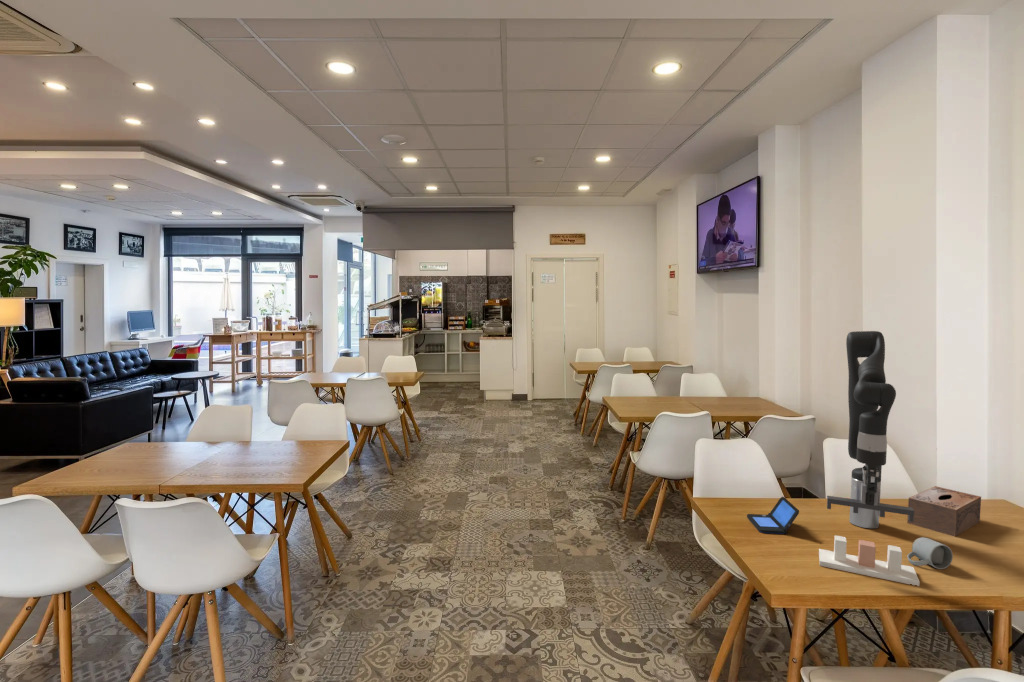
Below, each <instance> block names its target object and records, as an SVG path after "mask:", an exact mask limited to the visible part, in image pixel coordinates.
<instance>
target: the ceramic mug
mask: <svg viewBox="0 0 1024 682" xmlns="http://www.w3.org/2000/svg"><path fill="white" fill-rule="evenodd" d="M913 557H916V558H917V559H919V560H912V558H913ZM953 558H954V554H953V551H952V549H951V548H950V547H949V546H948V545H946V544H944V543H941V542H938V541H936V540H934V539H931V538H928V537H923V536H922V537H917V538H916V539H915V540H914V541H913V542H912V545H911V551H910V552H909V553H908V554H907V560H908V562H909V564H911V565H913V566H920V567H922V566H926V565H930V566H931V567H933V568H935V569H937V570H944V569H947V568H948V567H950V566H951V564H952V562H953Z"/></svg>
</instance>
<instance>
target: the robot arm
mask: <svg viewBox="0 0 1024 682" xmlns="http://www.w3.org/2000/svg"><path fill="white" fill-rule="evenodd" d="M845 341H846V356H847V366H848V367H847V369H848V386H847V387H848V389H847V390H848V394H847V395H848V400H847V401H848V402H847V403H848V414H849V415H848V416H849V419H848V421H849V424H848V440H847V442H848V443H847V444H848V445H847V450H848V455H849V458H851V459H853V460H856V461H857V462H858V463H861V464H865V465H863V466H862V467H856V468H853V469H852V470H851V478H850V479H851V481H850V482H851V483H850V484H851V485H850V499H855V500H861V483H864V484H865V485H866V489H865V491H866V497H865V503H866V504H867V505H874V497H875V493H876V492H877V491H876V490H877V487H878V502H877V503H881V491H882V490H881V487H882V486H881V485H882V470H883V469H882V468H883V467H882V466H885V465H886V464H887V452H888V451H887V450H888V449H887V448H888V439H887V438H888V437H887V432H888V431H887V428H888V419H889V415H890V413H891V409H892V407H893V405H894V402H895V400H896V396H897V392H896V388H895V386H893V385H892V384H891V383H888V382H887V377H886V373H885V359H886V358H885V357H886V344H885V343H886V342H885V337H884V334H883V333H882V332H881V331H878V330H870V331H869V330H866V331H865V330H864V331H863V330H862V331H849V332H848V333H847V335H846V340H845ZM859 358H865V359H864V360H863V361H862V362H861V363H860V361H859ZM869 487H873V489H871V488H869ZM848 519H849V520H848V521H849V523H850V524H852V525H854V526H857V527H860V528H865V529H879V527H880V525H879V524H880V516H879V511H878V510H871V509H864V508H858V513H853V507H851V506H849V518H848Z"/></svg>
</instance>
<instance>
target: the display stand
mask: <svg viewBox="0 0 1024 682" xmlns="http://www.w3.org/2000/svg"><path fill="white" fill-rule="evenodd" d="M833 542H834V543H833V550H828V549H822V548H818V557H819V566H820V567H825V568H829V569H834V570H838V571H843V572H849V573H854V574H856V575H857V574H858V575H863V576H868V577H873V578H878V579H882V580H887V581H892V582H897V583H901V584H907V585H910V584H912V585H911V586H915V585H917V586H916V587H920V579H919V577H918V575H917V572H916V570H915V568H914V566H910V565H904V564H902V560H903V559H902V558H903V557H902V556H903V552H902V549H901V547H900V546H896V545H890V544H887V553H886V554H887V557H886V561H885V560H884V561H883V560H879V559H876V550H877V549H876V548H877V547H876V544H875V542H874V541H868V540H863V539H858V550H857V551H858V553H857V555H853V554H848V553H847V542H848V541H847V538H846V537H845V536H842V535H834V541H833Z"/></svg>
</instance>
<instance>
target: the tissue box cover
mask: <svg viewBox="0 0 1024 682" xmlns="http://www.w3.org/2000/svg"><path fill="white" fill-rule="evenodd" d="M981 503H982V496H980V495H975V494H973V493H972V494H971V493H966V492H962V491H957V490H953V489H949V488H944V487H940V486H933V487H930V488H928V489H926V490H924V491H922V492H921V491H920V492H918V493H917V494H914V495H912V496H910V497H908V505H907V507H911V508H913V510H914V520H913V522H911V521H909V520H908V519H907V520H906V521H907V524H909V525H912V526H913V525H914V526H915V527H916V526H917V527H919V528H923V529H927V530H930V531H934V532H937V533H941V534H944V535H947V536H951V537H954V538H955V537H956V536H958V535H960V534H962V533H964V532H965V531H966V530H968V529H970V528H972V527H973V526H975V525H977V524H978V523H980V520H981V506H982V504H981Z"/></svg>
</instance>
